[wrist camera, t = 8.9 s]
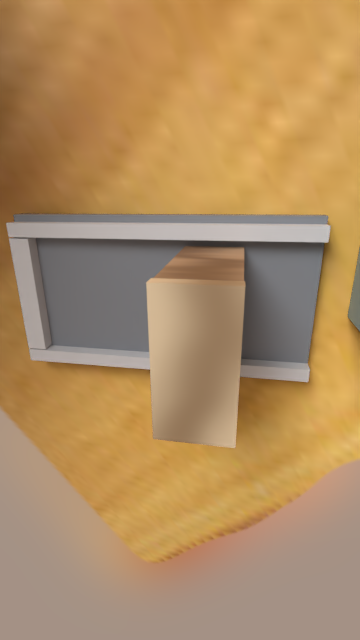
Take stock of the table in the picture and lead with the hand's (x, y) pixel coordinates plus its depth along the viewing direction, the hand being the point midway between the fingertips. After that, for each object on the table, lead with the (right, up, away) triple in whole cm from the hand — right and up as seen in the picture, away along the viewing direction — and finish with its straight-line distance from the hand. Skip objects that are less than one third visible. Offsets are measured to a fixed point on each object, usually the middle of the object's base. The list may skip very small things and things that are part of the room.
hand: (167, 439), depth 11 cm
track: (-1, +6, +16) cm, 17 cm away
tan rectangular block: (+3, +5, +14) cm, 15 cm away
